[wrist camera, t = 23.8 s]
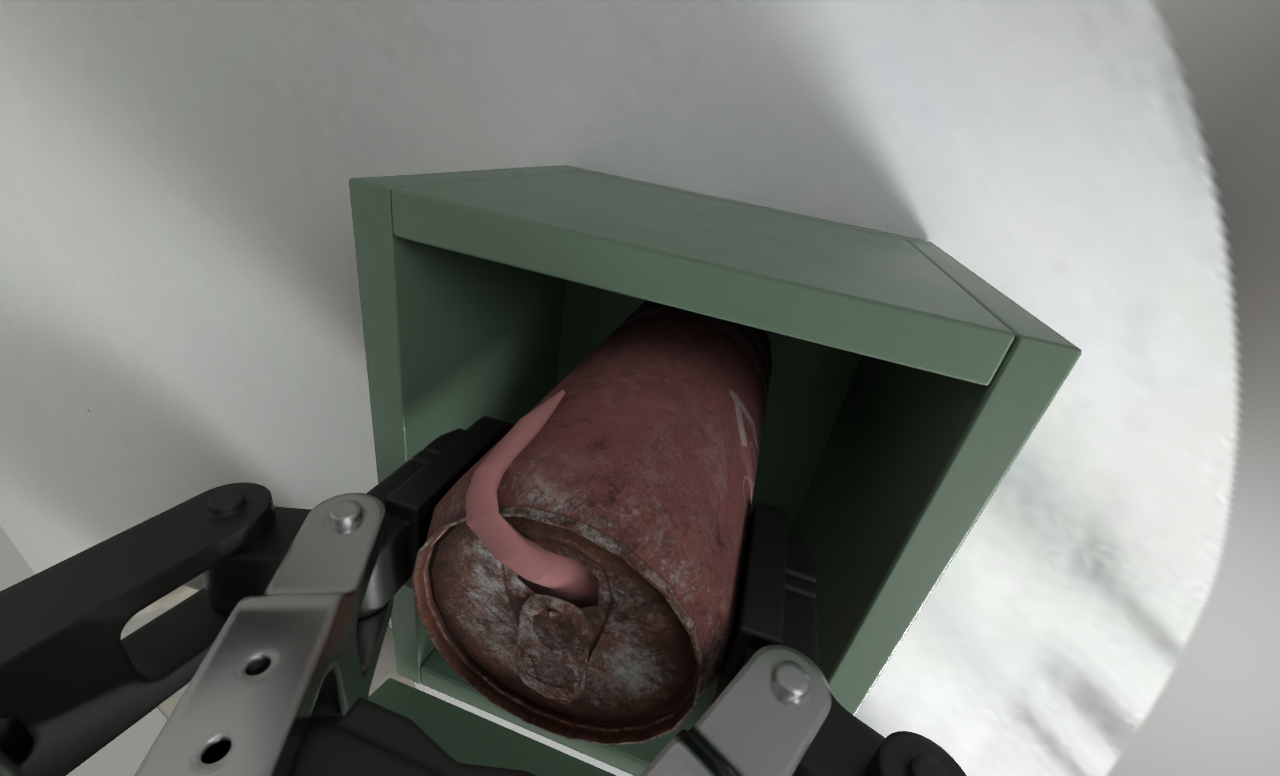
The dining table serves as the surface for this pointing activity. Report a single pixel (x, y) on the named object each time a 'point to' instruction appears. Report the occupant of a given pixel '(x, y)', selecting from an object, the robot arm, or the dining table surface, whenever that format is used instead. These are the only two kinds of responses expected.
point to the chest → (730, 290)
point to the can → (606, 534)
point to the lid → (477, 735)
